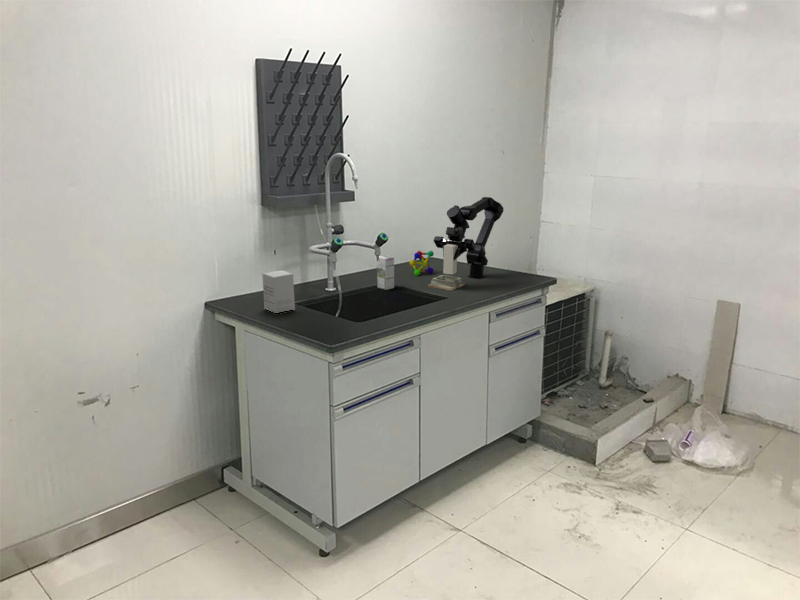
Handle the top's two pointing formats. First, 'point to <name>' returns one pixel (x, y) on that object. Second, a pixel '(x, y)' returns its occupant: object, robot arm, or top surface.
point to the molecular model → (424, 262)
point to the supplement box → (278, 291)
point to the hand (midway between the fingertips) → (448, 259)
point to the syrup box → (385, 272)
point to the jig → (446, 282)
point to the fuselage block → (449, 259)
